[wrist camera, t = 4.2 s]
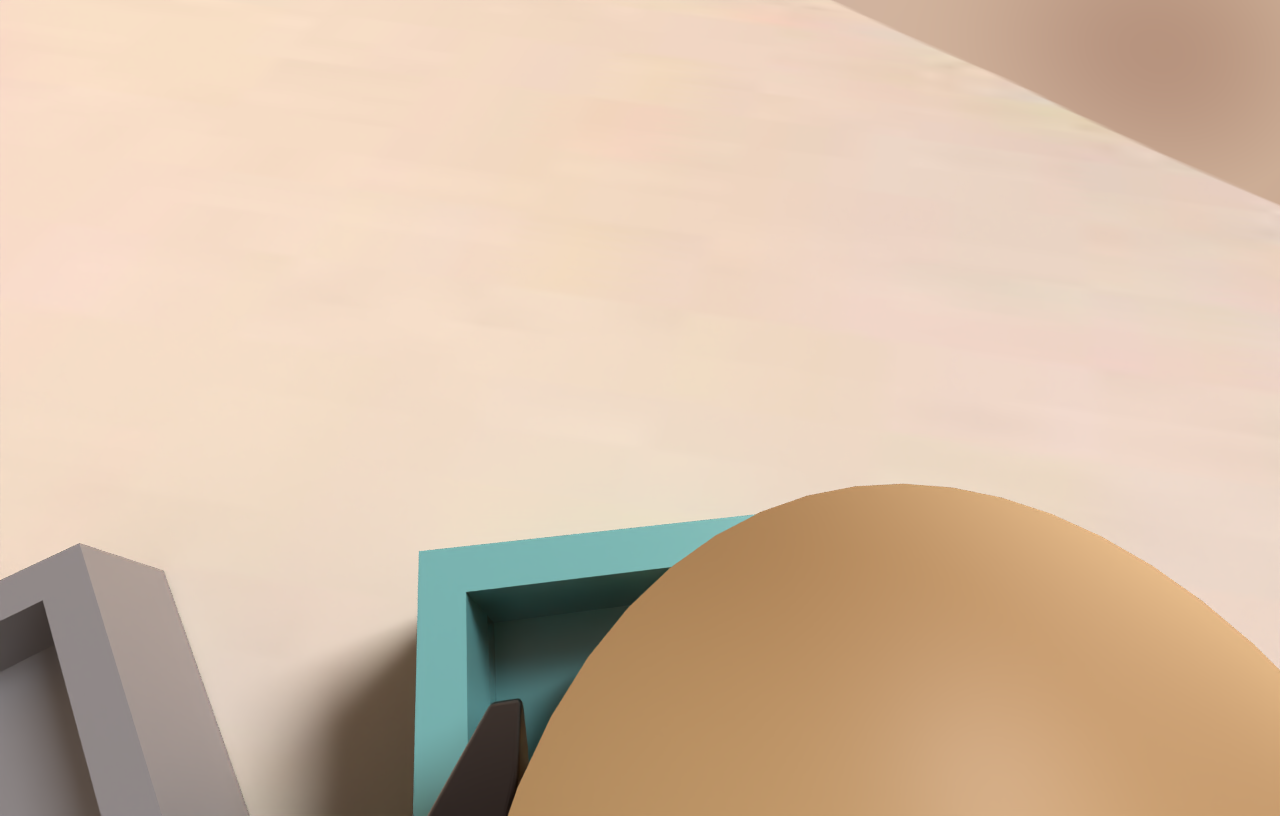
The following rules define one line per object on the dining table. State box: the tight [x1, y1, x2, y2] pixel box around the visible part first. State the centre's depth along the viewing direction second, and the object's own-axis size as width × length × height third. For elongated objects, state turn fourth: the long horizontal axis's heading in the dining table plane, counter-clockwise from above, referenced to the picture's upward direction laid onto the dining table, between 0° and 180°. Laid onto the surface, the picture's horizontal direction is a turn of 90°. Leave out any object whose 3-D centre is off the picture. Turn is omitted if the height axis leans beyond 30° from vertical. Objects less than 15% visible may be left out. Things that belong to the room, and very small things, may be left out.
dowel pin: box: [508, 484, 1280, 816], centre depth 8 cm, size 5×5×12 cm
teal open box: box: [413, 515, 754, 816], centre depth 12 cm, size 9×9×5 cm
